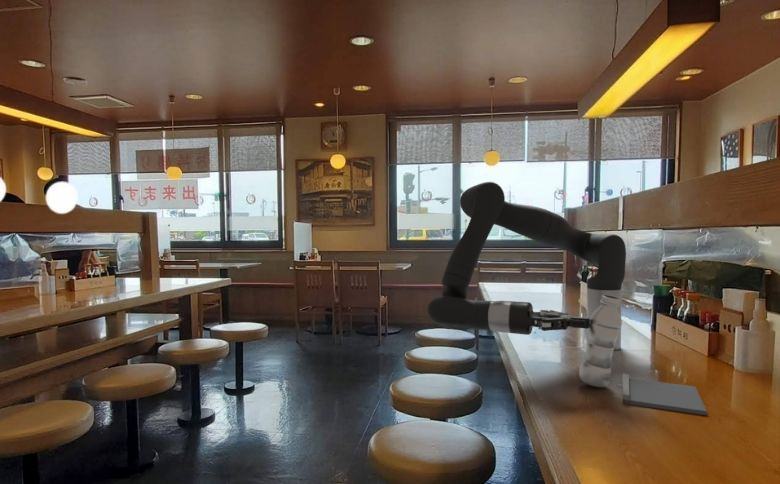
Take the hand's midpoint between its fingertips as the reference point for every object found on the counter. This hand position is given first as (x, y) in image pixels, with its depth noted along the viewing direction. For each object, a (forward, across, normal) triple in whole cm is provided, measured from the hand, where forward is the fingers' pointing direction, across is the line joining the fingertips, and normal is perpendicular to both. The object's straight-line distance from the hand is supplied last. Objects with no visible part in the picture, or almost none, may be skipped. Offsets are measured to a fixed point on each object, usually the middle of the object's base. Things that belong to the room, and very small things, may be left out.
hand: (589, 323), depth 103 cm
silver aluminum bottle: (+1, 0, +14) cm, 14 cm away
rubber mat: (+14, 0, +14) cm, 20 cm away
